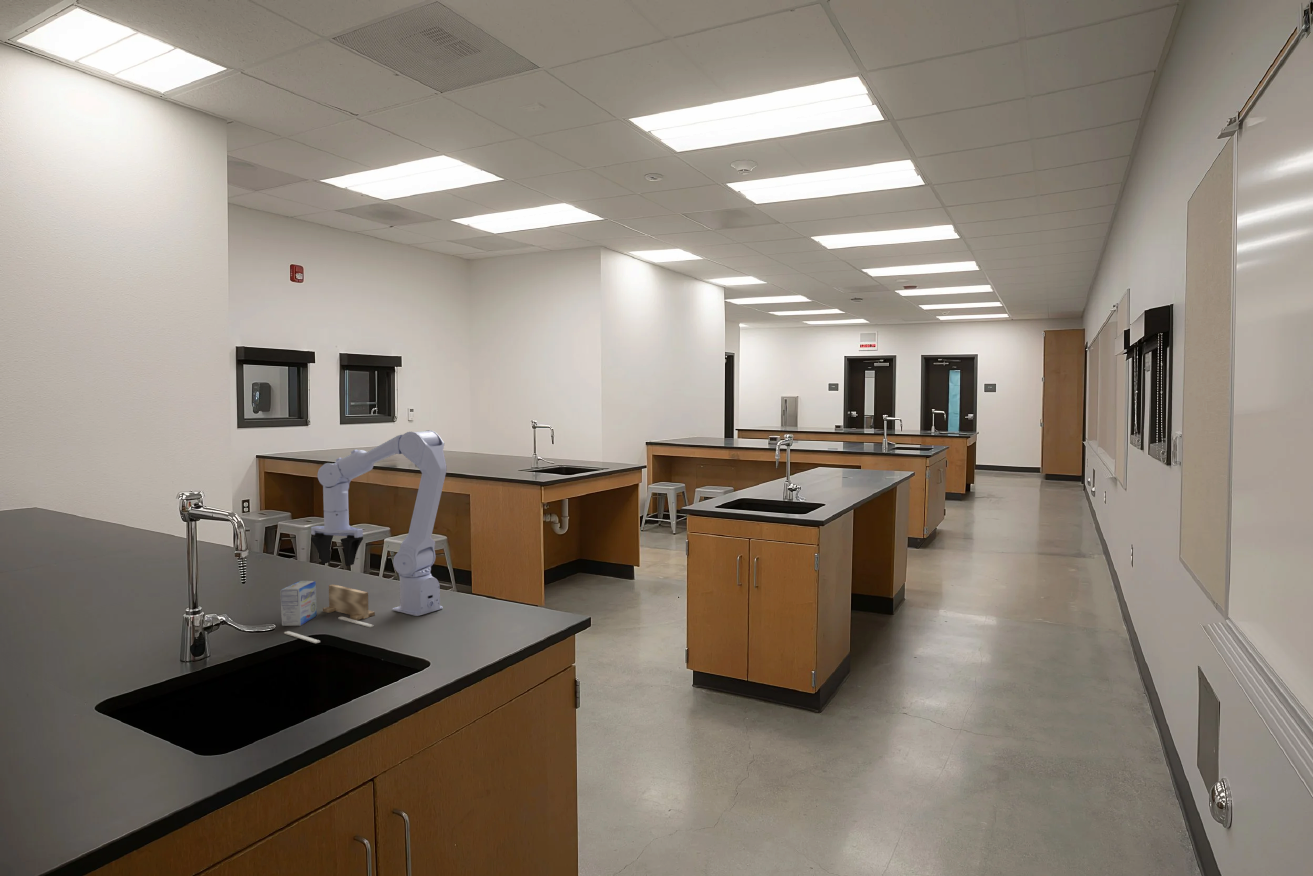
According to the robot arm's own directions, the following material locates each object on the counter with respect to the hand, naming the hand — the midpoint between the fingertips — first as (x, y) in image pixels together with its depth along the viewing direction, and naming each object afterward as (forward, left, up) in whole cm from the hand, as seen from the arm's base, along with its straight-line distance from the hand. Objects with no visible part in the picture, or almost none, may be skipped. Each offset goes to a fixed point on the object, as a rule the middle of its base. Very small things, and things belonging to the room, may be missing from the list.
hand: (337, 564), depth 182 cm
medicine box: (-5, +13, -11) cm, 18 cm away
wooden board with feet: (-9, +3, -10) cm, 14 cm away
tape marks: (-17, +13, -10) cm, 24 cm away
